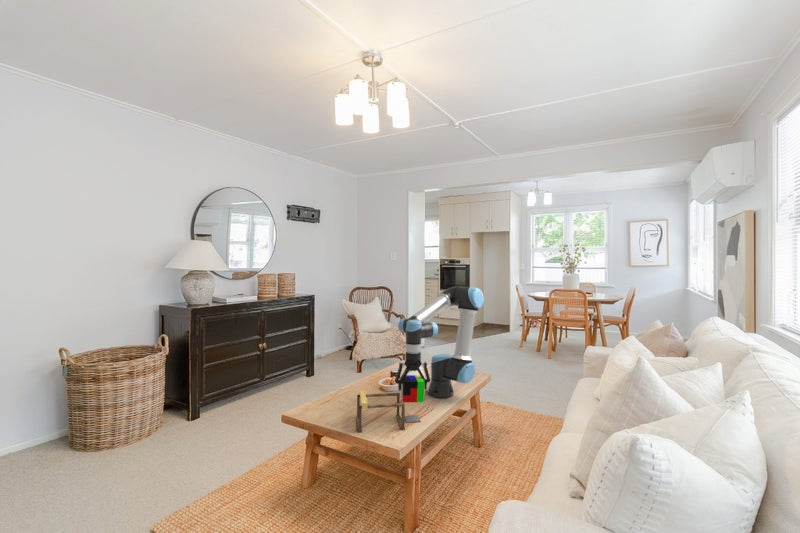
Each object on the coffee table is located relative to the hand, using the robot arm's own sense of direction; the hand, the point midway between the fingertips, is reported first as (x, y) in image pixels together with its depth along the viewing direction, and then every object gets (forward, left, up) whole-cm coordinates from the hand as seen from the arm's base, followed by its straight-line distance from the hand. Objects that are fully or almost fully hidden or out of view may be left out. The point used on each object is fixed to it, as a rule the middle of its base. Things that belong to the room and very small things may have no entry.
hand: (412, 396), depth 190 cm
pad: (0, 0, -12) cm, 12 cm away
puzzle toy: (0, 0, -1) cm, 1 cm away
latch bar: (+24, +3, -1) cm, 25 cm away
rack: (+16, +3, -12) cm, 20 cm away
